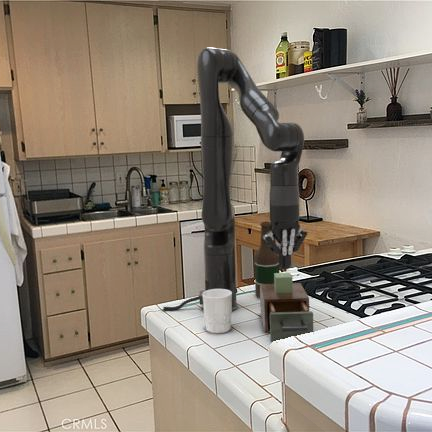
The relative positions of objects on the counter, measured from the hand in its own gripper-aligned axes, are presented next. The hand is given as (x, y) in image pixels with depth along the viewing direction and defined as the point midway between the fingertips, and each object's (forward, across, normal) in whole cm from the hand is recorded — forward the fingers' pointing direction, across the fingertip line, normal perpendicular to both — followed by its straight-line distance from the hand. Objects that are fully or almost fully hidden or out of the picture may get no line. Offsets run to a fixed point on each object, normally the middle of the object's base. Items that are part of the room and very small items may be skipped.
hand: (285, 268), depth 130 cm
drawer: (+16, -3, -6) cm, 17 cm away
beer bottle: (+17, +11, +27) cm, 34 cm away
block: (+8, +2, +5) cm, 9 cm away
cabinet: (+17, +2, +5) cm, 18 cm away
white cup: (+17, -15, +10) cm, 25 cm away
